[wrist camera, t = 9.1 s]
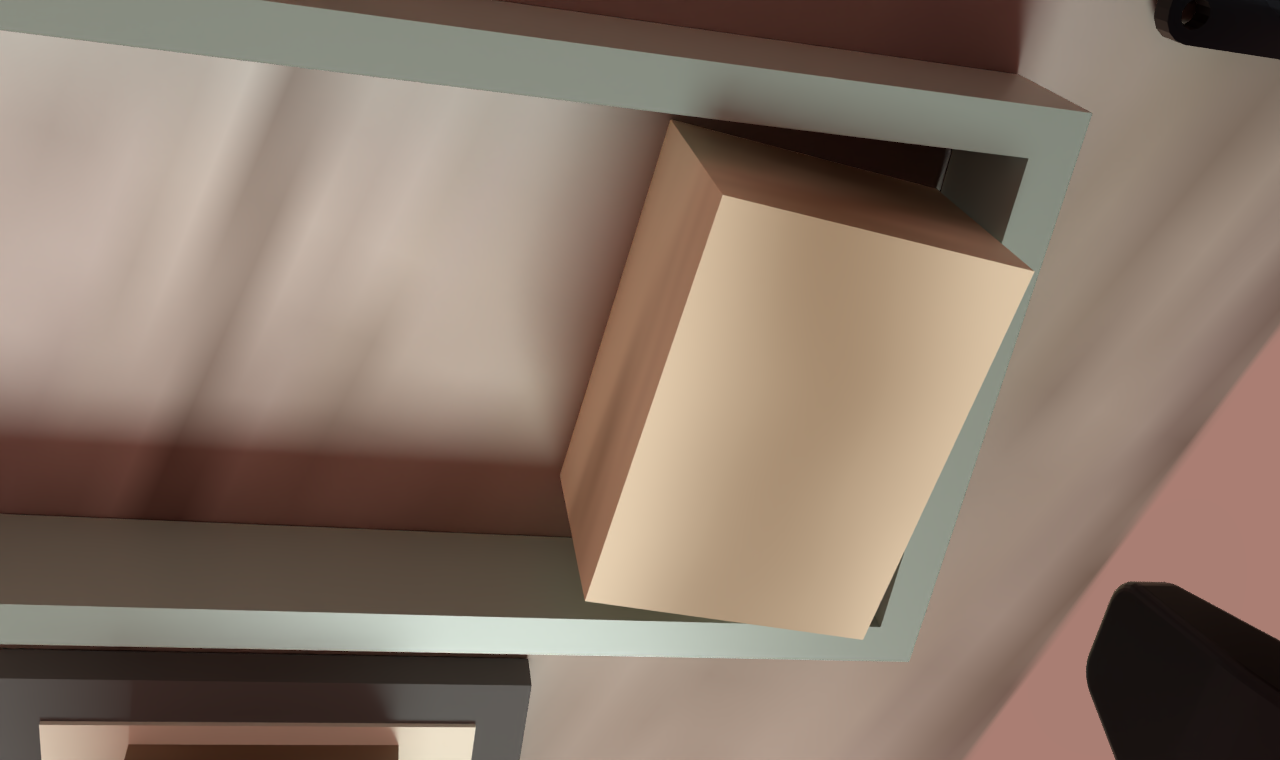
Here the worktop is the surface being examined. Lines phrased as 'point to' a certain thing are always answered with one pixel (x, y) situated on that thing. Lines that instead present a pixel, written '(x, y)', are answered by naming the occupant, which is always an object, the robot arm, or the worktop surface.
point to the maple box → (778, 385)
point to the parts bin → (512, 564)
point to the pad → (259, 703)
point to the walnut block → (261, 752)
